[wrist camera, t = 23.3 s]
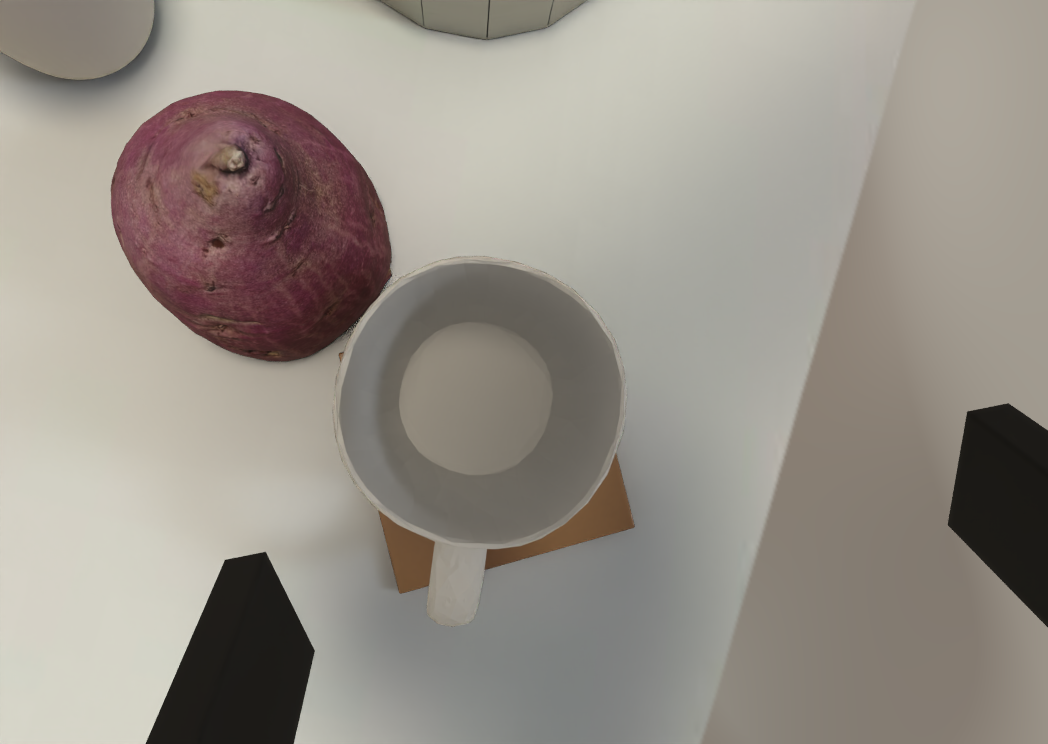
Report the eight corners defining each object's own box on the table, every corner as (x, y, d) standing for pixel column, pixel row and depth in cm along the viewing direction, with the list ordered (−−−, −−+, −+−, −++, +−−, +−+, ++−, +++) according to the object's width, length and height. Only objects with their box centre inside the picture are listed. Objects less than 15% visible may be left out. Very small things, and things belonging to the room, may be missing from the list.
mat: (573, 296, 31) (575, 294, 30) (632, 524, 31) (635, 527, 30) (340, 354, 30) (338, 353, 29) (400, 590, 30) (399, 594, 29)
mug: (389, 285, 29) (352, 232, 19) (586, 313, 30) (647, 275, 20) (350, 570, 29) (291, 666, 19) (551, 591, 30) (596, 693, 20)
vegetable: (416, 210, 33) (527, 71, 19) (328, 397, 31) (380, 391, 17) (209, 95, 30) (162, -172, 16) (94, 296, 28) (-72, 189, 14)
